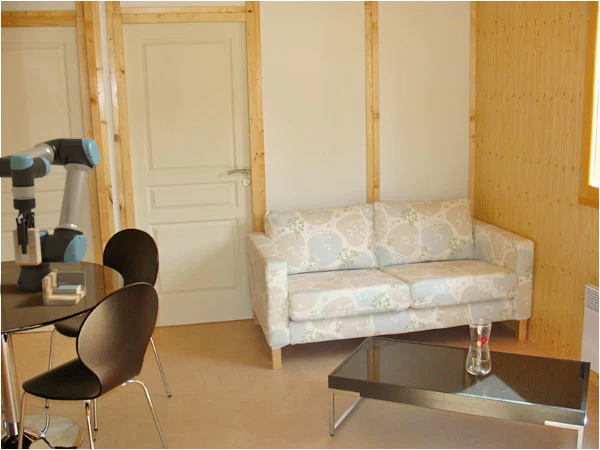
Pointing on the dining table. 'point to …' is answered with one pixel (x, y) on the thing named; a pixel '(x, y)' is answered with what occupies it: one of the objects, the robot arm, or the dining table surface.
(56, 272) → the shelf
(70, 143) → the robot arm
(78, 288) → the flat book
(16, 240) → the supplement box
